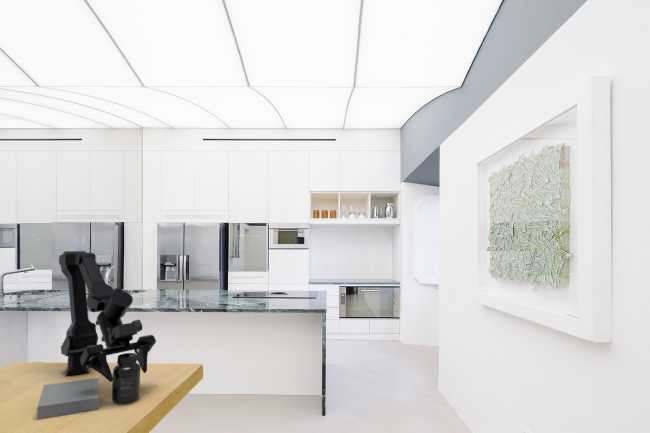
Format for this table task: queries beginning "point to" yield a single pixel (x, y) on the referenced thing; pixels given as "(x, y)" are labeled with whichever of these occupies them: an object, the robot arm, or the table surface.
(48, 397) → the riser block
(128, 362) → the supplement bottle
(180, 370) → the table surface
